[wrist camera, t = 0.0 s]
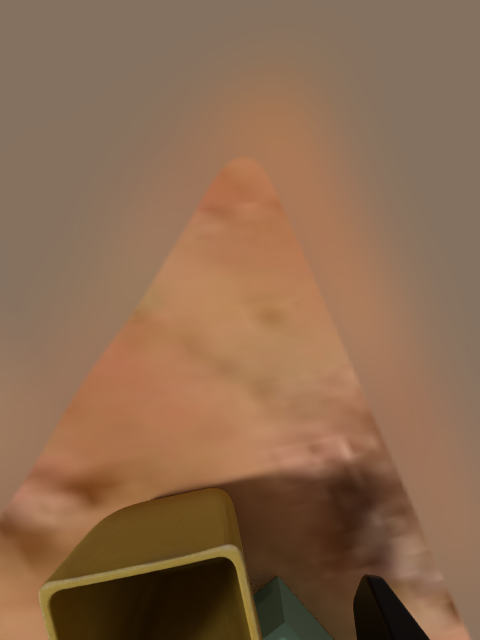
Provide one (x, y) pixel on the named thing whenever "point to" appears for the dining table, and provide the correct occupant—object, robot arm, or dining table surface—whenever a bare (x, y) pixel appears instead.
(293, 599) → the teal bin
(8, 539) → the dining table surface
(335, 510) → the dining table surface
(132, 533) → the flower pot
